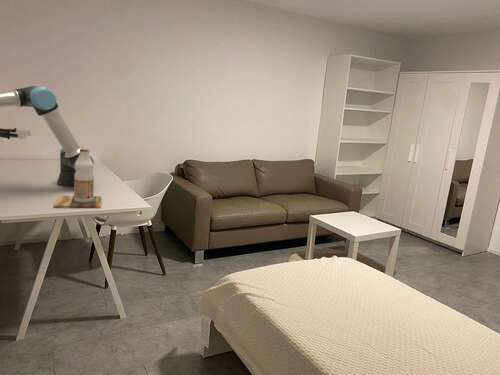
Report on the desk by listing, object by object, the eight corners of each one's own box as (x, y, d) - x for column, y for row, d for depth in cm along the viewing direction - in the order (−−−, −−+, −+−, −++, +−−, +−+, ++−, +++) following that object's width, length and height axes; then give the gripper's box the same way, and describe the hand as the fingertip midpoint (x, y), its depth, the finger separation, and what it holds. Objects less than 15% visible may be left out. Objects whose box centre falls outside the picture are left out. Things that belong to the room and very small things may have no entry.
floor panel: (53, 208, 189) (53, 205, 189) (58, 197, 208) (58, 195, 207) (100, 208, 197) (100, 205, 197) (101, 198, 216) (101, 196, 215)
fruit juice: (78, 203, 197) (78, 150, 191) (71, 199, 203) (71, 147, 197) (96, 202, 203) (97, 150, 197) (89, 197, 210) (90, 147, 204)
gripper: (-15, 136, 196) (32, 139, 204) (-30, 141, 173) (23, 144, 181) (-15, 121, 194) (32, 125, 202) (-31, 125, 172) (23, 129, 179)
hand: (28, 134), depth 192 cm, fingers open, 13 cm apart
